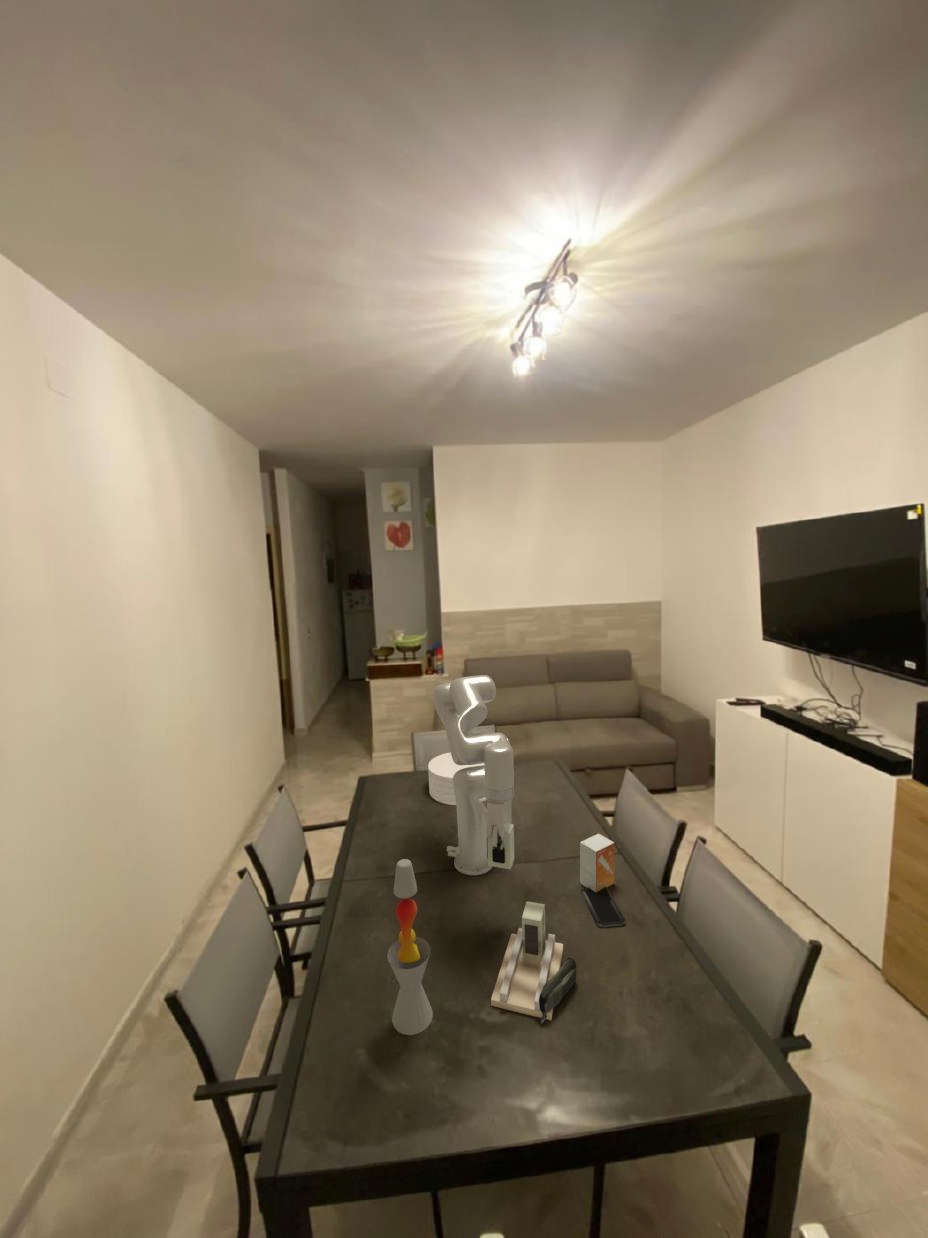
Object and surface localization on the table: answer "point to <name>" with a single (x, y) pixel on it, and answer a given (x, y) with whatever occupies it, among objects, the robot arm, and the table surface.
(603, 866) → the small box
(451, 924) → the table surface
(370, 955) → the table surface
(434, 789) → the plate stack
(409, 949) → the lava lamp
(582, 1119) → the table surface
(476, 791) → the robot arm
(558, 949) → the rail board
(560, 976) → the mobile phone
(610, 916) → the phone
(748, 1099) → the table surface
